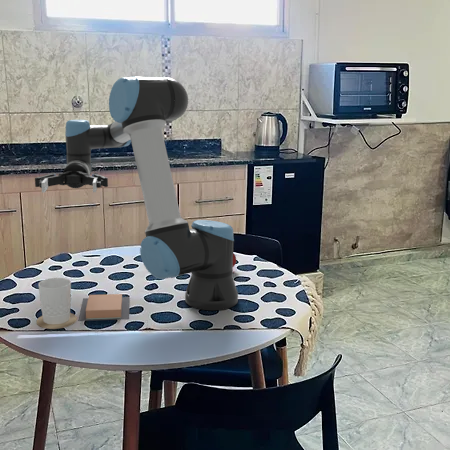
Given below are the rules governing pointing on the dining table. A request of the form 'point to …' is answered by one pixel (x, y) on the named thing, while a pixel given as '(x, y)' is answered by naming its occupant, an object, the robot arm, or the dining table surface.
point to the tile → (104, 306)
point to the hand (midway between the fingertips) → (68, 187)
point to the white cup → (55, 300)
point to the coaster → (50, 326)
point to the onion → (234, 259)
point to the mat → (123, 316)
